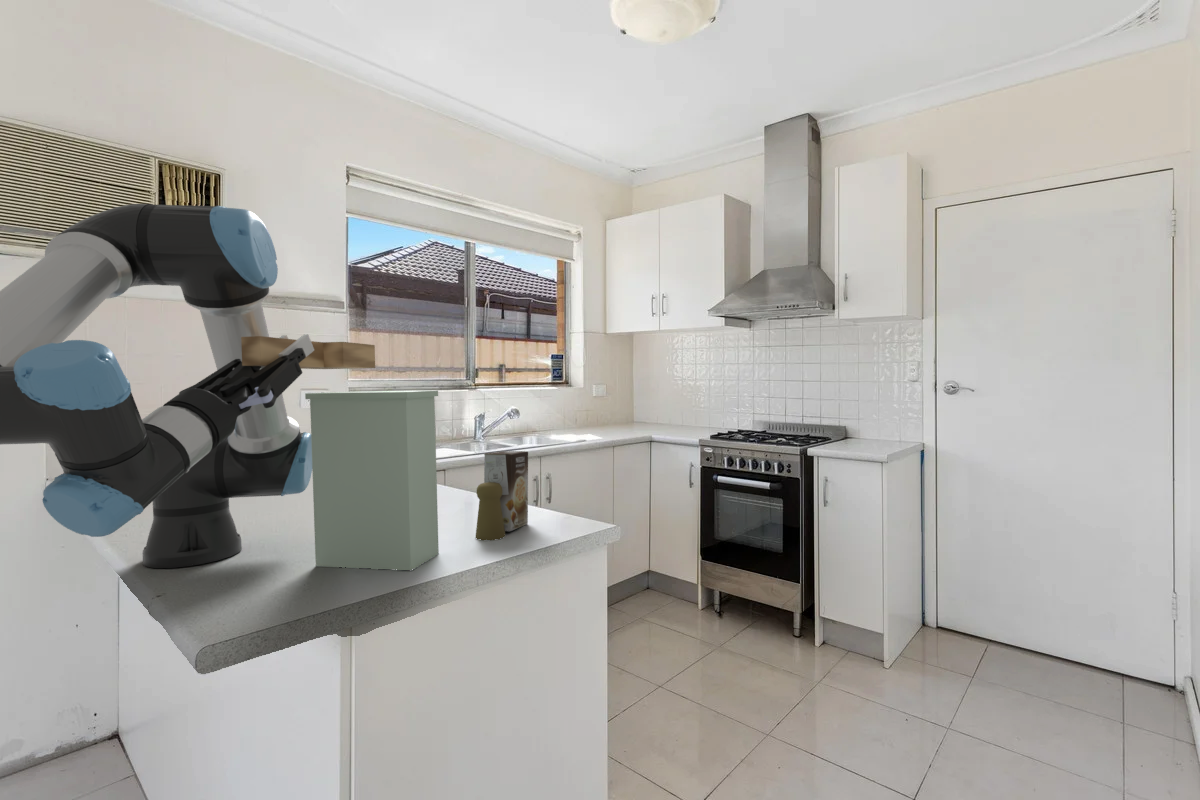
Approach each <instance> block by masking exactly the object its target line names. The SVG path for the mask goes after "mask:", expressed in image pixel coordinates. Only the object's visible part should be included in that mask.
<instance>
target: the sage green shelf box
mask: <svg viewBox="0 0 1200 800" xmlns="http://www.w3.org/2000/svg"><path fill="white" fill-rule="evenodd" d="M304 395H305V400H309V403H310V404H309V405H310V406H309V407H310V409H309V410H310V413H309V414H310V434H311V442H312V492H313V493H312V494H313V497H312V498H313V522H314V523H313V524H314V525H313V527H314V528H313V529H314V550H315V551H314V552H315V553H314V555H315V556H314V558H315V567H322V568H323V567H324V568H326V567H328V568H339V567H342V568H343V569H359V568H371V569H370V570H378V569H395V570H394V571H397V570H412V569H414V568H415V569H417V568H419V567H420V566H422V565H423V564H425V563H427V562H428V561H429V559H430V560H432V559H433V558H434V557H436V556H438V555H439V551H440V550H439V523H438V522H439V521H438V519H439V515H438V513H439V512H438V482H437V479H438V478H437V445H436V444H437V442H436V441H437V440H436V410H435V409H436V406H435V404H436V403H435V401H436V400H435V397H439V390H389V391H387V390H385V391H383V390H380V391H377V390H376V391H334V392H331V391H330V392H329V391H328V392H308V393H304ZM435 555H436V556H435ZM432 557H433V558H432ZM427 560H428V561H427ZM424 562H425V563H424ZM422 563H423V564H422ZM421 564H422V565H421ZM419 565H420V566H419ZM345 567H346V568H345ZM416 567H417V568H416ZM342 568H341V569H342ZM396 569H397V570H396ZM415 569H414V570H415ZM412 571H413V570H412Z"/></svg>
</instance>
